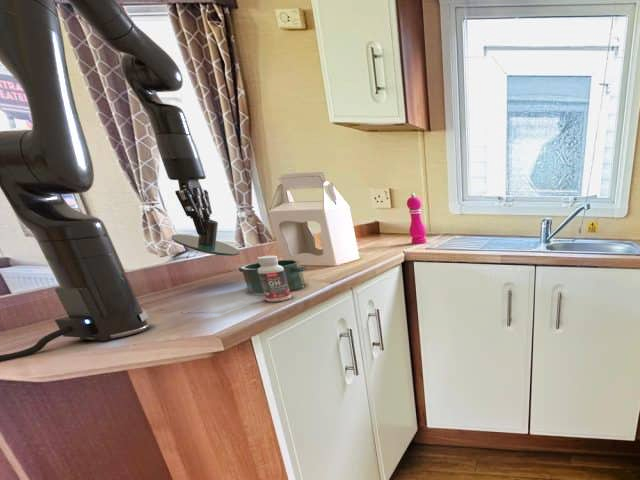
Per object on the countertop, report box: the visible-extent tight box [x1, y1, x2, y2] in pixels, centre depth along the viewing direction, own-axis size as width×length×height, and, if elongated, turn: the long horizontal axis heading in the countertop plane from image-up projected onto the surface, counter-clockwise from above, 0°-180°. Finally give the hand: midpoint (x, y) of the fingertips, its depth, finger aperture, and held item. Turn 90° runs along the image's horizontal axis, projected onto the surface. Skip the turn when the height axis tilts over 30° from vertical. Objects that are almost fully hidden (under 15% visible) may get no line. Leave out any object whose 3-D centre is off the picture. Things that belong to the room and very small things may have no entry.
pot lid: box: [170, 218, 240, 257], centre depth 107 cm, size 14×14×7 cm
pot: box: [238, 259, 307, 294], centre depth 109 cm, size 13×19×6 cm
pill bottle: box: [257, 255, 292, 303], centre depth 97 cm, size 5×5×10 cm
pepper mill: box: [406, 192, 427, 245], centre depth 181 cm, size 7×7×20 cm
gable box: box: [268, 171, 360, 267], centre depth 142 cm, size 22×13×28 cm, turn 73°
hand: (206, 233), depth 107 cm, fingers closed on pot lid, 3 cm apart
